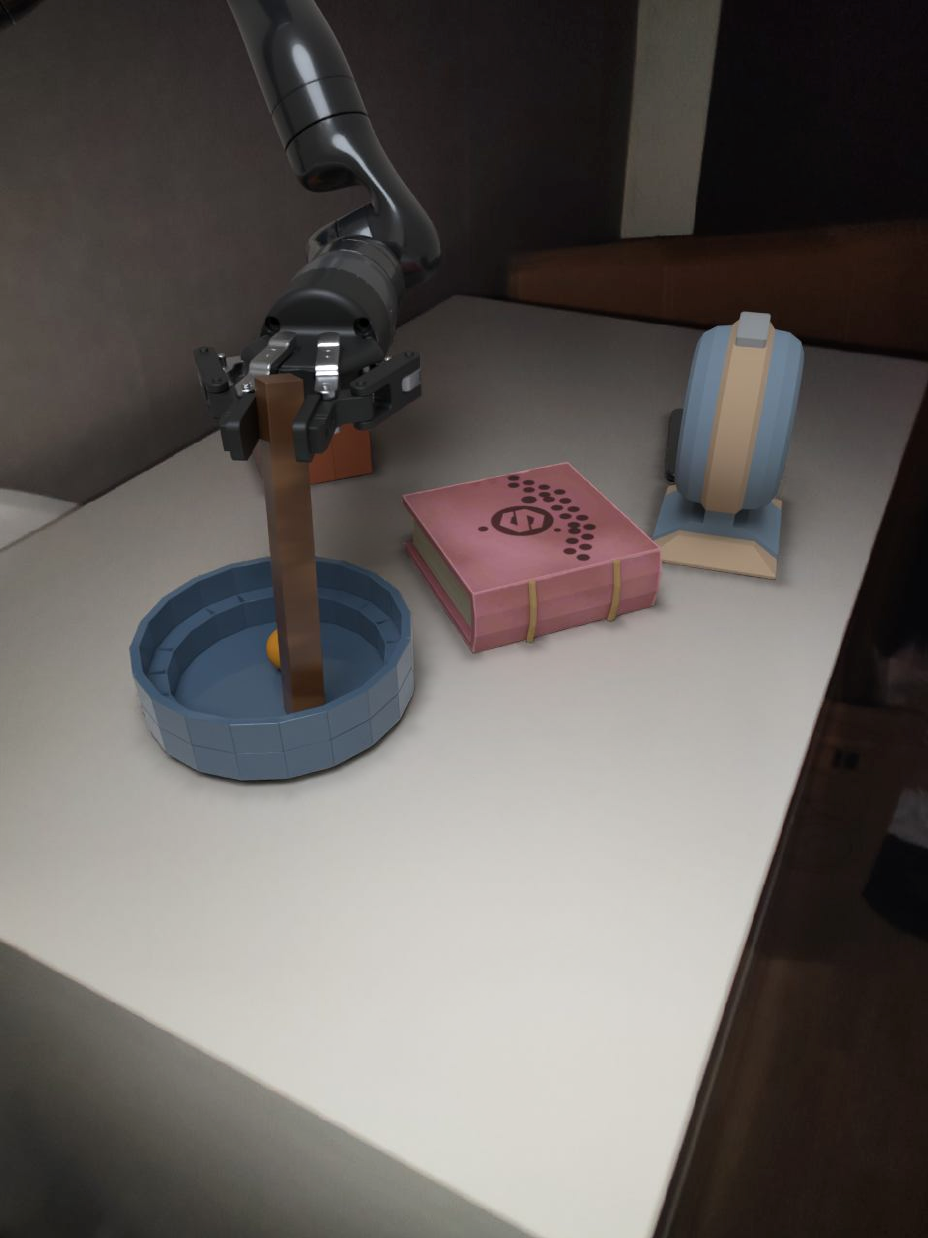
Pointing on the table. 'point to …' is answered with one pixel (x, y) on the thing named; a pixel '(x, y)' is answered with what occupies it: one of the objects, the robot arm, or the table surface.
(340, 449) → the holder
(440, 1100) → the table surface
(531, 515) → the book
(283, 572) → the stick
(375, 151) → the robot arm
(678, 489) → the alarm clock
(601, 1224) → the table surface
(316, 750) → the bowl
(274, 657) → the ball
